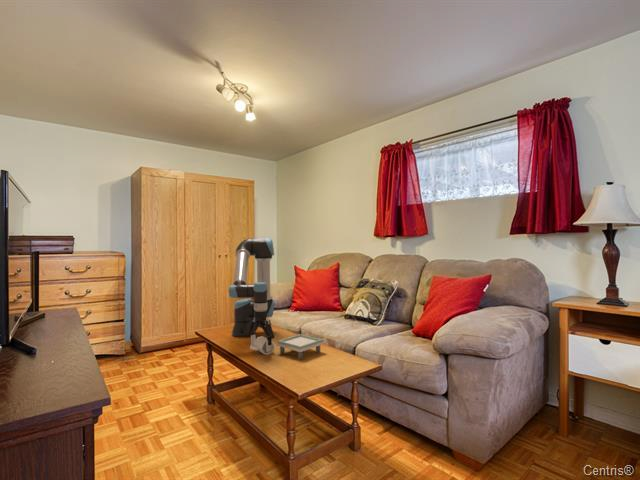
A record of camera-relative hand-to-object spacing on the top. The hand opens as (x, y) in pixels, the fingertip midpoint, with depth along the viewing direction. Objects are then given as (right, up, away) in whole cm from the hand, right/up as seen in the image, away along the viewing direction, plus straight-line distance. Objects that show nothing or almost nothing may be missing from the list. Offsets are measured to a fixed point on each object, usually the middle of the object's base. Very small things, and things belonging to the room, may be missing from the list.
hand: (260, 348), depth 190 cm
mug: (0, -3, 0) cm, 3 cm away
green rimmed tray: (+22, -2, -1) cm, 22 cm away
